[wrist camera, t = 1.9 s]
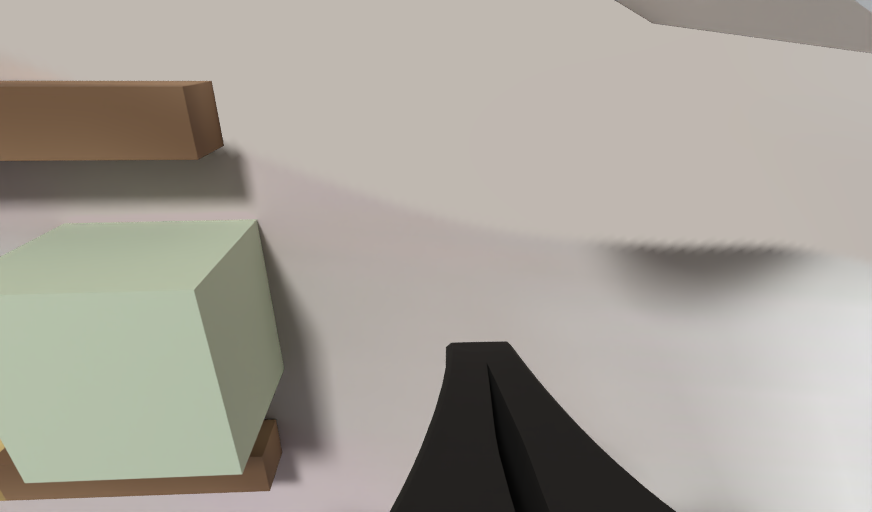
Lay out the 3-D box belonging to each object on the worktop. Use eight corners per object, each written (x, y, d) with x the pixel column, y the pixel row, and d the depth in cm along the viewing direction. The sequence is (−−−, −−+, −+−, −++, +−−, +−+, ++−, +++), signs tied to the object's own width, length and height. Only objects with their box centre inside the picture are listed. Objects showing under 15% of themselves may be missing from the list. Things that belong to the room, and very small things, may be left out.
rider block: (285, 366, 14) (242, 474, 11) (123, 371, 14) (25, 483, 11) (258, 217, 12) (193, 289, 9) (68, 221, 12) (-78, 297, 9)
